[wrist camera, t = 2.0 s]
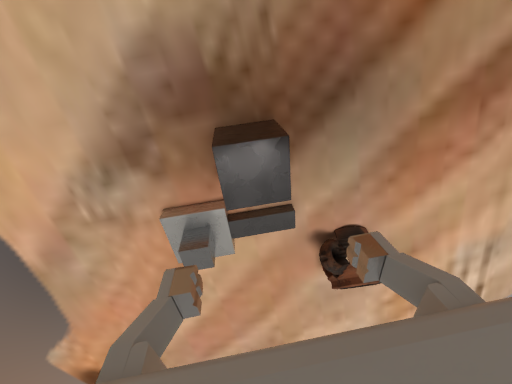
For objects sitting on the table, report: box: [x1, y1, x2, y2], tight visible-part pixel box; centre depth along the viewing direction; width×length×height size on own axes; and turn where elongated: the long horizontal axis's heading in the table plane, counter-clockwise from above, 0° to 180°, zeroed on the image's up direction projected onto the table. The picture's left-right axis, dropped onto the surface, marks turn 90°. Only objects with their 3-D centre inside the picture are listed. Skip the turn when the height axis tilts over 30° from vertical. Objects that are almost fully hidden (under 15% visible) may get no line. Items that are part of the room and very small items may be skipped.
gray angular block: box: [160, 200, 295, 270], centre depth 28 cm, size 17×8×6 cm, turn 96°
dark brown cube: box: [212, 120, 291, 211], centre depth 23 cm, size 7×7×6 cm
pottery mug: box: [319, 227, 381, 289], centre depth 33 cm, size 12×10×8 cm
